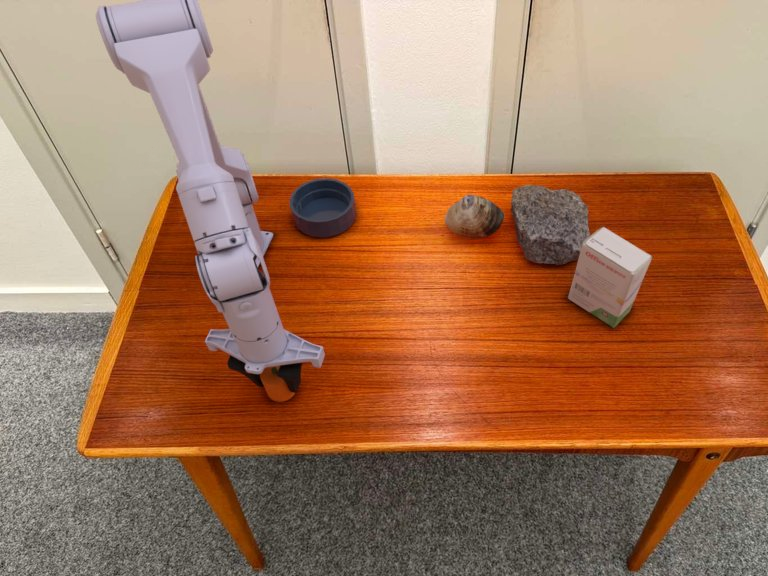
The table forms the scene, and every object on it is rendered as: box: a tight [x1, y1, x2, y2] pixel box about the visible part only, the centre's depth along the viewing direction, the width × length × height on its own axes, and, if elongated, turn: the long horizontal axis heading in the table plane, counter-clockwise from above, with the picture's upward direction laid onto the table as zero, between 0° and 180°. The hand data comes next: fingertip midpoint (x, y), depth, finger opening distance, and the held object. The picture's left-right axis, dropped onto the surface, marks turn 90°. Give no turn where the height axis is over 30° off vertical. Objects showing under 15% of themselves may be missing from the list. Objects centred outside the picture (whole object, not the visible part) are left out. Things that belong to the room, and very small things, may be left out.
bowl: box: [289, 177, 358, 238], centre depth 104 cm, size 10×10×4 cm
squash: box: [260, 365, 296, 403], centre depth 84 cm, size 4×4×5 cm
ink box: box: [567, 226, 653, 329], centre depth 90 cm, size 9×5×12 cm, turn 47°
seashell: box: [444, 194, 505, 240], centre depth 100 cm, size 10×6×8 cm, turn 87°
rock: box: [510, 184, 591, 266], centre depth 101 cm, size 13×6×15 cm
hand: (279, 383), depth 85 cm, fingers closed on squash, 4 cm apart
